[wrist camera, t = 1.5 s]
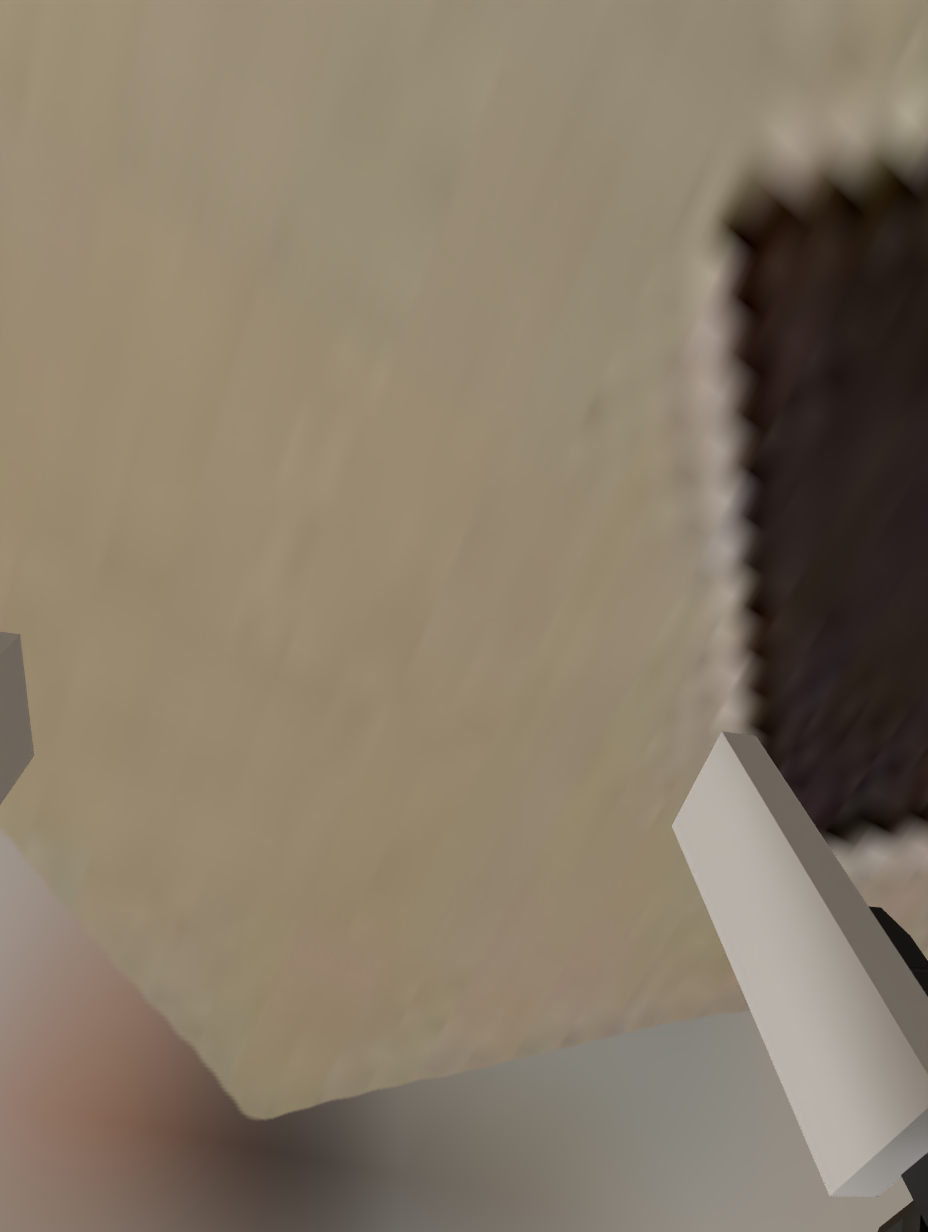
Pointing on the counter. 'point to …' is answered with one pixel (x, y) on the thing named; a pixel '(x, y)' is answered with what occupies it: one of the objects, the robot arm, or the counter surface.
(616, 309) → the counter surface
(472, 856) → the counter surface
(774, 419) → the counter surface
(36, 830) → the counter surface
